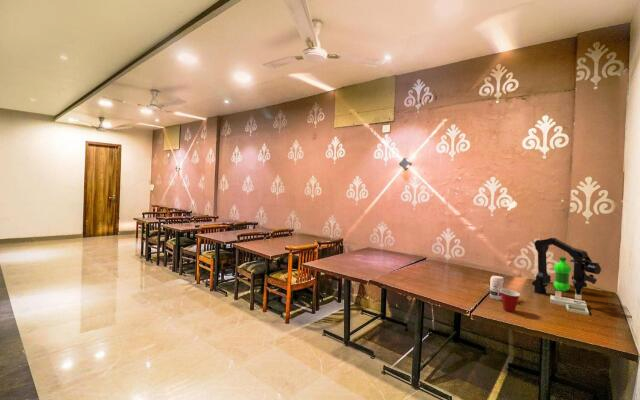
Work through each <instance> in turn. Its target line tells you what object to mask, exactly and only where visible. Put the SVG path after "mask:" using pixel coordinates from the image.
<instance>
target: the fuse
mask: <svg viewBox="0 0 640 400" xmlns="http://www.w3.org/2000/svg"><path fill="white" fill-rule="evenodd" d="M554 296H555V299H560V300H561V297H562V291H559V290H555V294H554Z"/></svg>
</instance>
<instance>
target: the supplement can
mask: <svg viewBox="0 0 640 400" xmlns="http://www.w3.org/2000/svg"><path fill="white" fill-rule="evenodd" d="M501 289H505V279H504V277H503V276H499V275H491V277H490V285H489V297H490V299H491V300H492V299H493V300H494V299H495V301H502V296H501V292H500V290H501Z"/></svg>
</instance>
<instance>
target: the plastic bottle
mask: <svg viewBox="0 0 640 400" xmlns="http://www.w3.org/2000/svg"><path fill="white" fill-rule="evenodd" d="M558 258H559V261H558V262H557V263H555V264H554V265H553V270H554V271H555V281H554V282H553V286H554V288H555V289H556V291H560V292H564V293H565V292H566V291H569V290H570V288H571V285H570V284H569V280H570V274H571V273H572V267H571V266H570V265H569V264H568V263H567V257H565V256H564V257H563V256H560V257H558Z"/></svg>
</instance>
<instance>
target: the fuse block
mask: <svg viewBox="0 0 640 400" xmlns="http://www.w3.org/2000/svg"><path fill="white" fill-rule="evenodd" d="M549 297H550V299H549V301H550V304H554V305H559V306H565V307H566V304H570V305H576V306H581V307H587V306H588V305H587V302H586V301H585V300H582V299H581V300H575V298H569V297H564V296H561V300H560V299H555V295H552V294H550V296H549ZM587 308H588V307H587Z"/></svg>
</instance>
